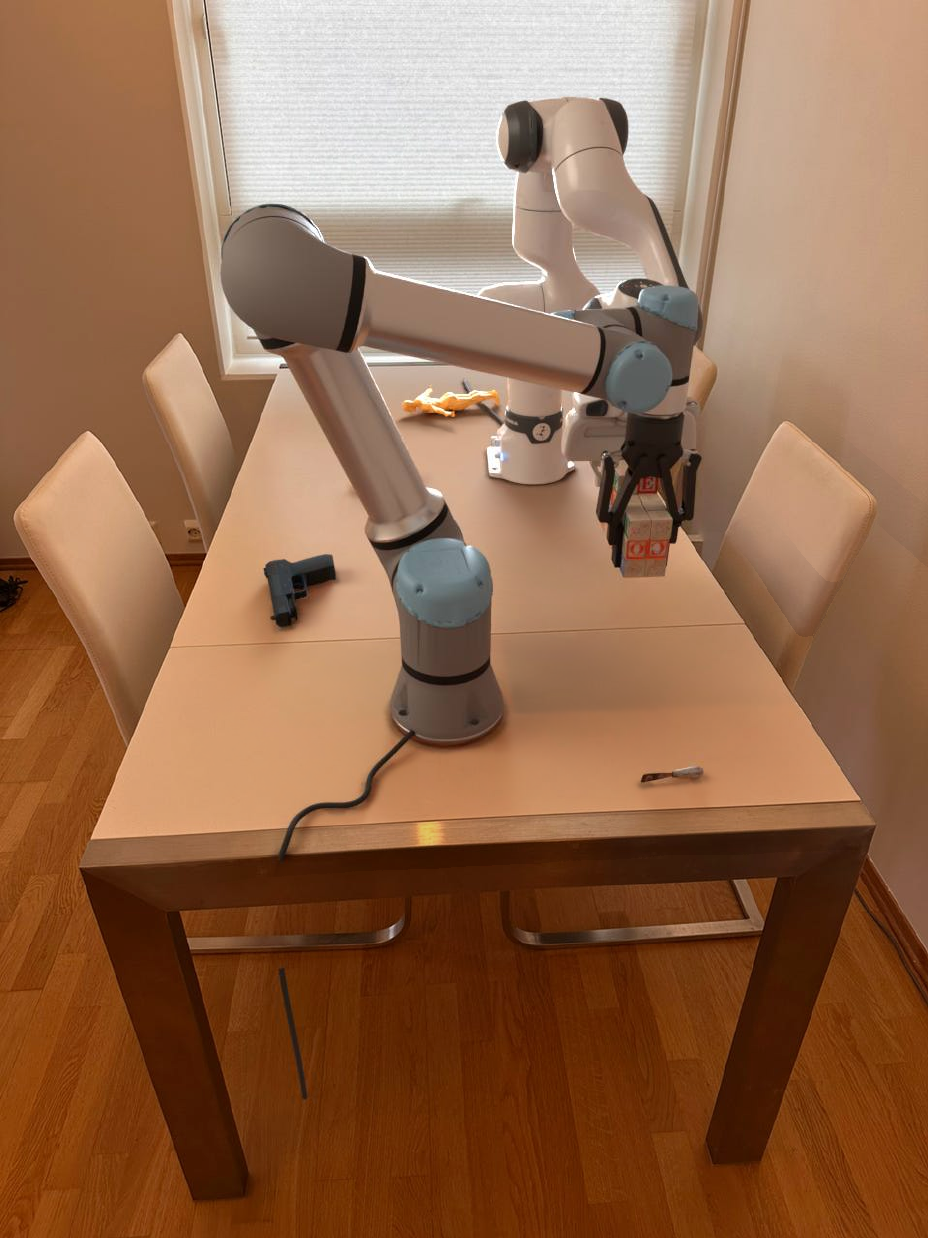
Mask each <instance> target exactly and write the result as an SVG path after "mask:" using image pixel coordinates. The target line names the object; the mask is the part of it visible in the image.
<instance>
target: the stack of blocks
mask: <svg viewBox="0 0 928 1238" xmlns="http://www.w3.org/2000/svg"><path fill="white" fill-rule="evenodd" d="M627 468H628V465H627V463H626V462H625V461H624V459H621V460H620V461H619V465H618V467H617V468H614V469H615V477H614V483H613V488H612V494H611V500H610V505H609V511H610V509H611V507H612V504H613V502H614V500H615V498H616V495H617V493H618V491H619V489H620V486H621V484H622V482H623V480H624V478H625V472H626V470H627ZM602 471H603V463H602V462H601V466H600V472H602ZM659 483H660V478H655V477H647V478H641V480H640V482H639V484H638V485H637V486H636V488H635V490H634V492H633V494H632V496H631V499H630V501H629V503H628V505H627V507H626V510H625V512H624V514H623V516H622V518H621V522H622V524H623V526H624V532H623V542H622V551H621V561H620V568H619V571H620V573H621V576H622V577H623V578H624V579H629V578H631V579H632V578H633V579H635V578H662V577H665V576H666V569H667V566H666V562H667V563H668V561H667V556H668V557H669V554H668V548H669V549H670V546H669V539H670V538H671V531H672V522H673V519H672V517H671V515H670V514H669V512H668V511H667V508H666V504H665V502H664V501H663V499H662V498H661V496H660V495H659V494H658V491H659ZM609 511H608V512H609ZM600 525H601V527H602V530H603V532H604V535H605V538H606V537H607V526H608V524H607V523H605V522H604V523H601V522H600ZM609 546H610V548H611V549H612V545H609Z"/></svg>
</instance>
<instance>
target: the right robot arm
mask: <svg viewBox="0 0 928 1238" xmlns="http://www.w3.org/2000/svg"><path fill="white" fill-rule="evenodd" d="M498 121H499V122H498V126H497V129H496V146H497V151H498V154H499V159H500V161H501V163H502V165H503V166H504V168H506V169H507V170H508V171H512V172H515V173H516V178H515V186H514V196H513V197H514V198H513V201H514V202H513V220H512V221H513V222H512V247H513V249H514V252H515V253H516V255H517V256H518V257H519V258H520V259H521V260H523V261H525V262H526V263H528V264H530V265H532V266H534V267H536V268H538V269H540V270H541V279H540V280H537V281H524V282H523V281H520V282H519V281H518V282H503V283H497V284H494V285H491V286H486V287H484V288H481V290H480V291H479V292H478V293H477V295H476V296H479V297H483V298H487V299H491V300H495V301H499V302H503V303H507V304H511V305H515V306H519V307H523V308H527V309H531V310H535V311H539V312H543V313H547V314H552V313H554V312H560V311H568V310H572V309H576V310H585V309H608V308H627V307H632V306H637V301H638V298H639V294H640V292H641V291H642V290H643V289H644V288H647V287H653V286H662V285H665V286H678V287H684V288H687V289H690V287H689V285H688V283H687V281H686V279H685V276H684V273H683V270H682V268H681V266H680V263H679V259H678V258H677V254H676V252H675V249H674V247H673V244H672V241H671V239H670V236H669V233H668V230H667V228H666V225H665V223H664V221H663V219H662V216H661V214H660V211H659V209H658V207H657V205H656V203H655V202H654V200H653V199H652V198H651V197H649V196H647V195H646V194H645V193H644V192H642V191H641V189H640V188H639V187H638V185H636V183H635V182H634V180H633V178H632V177H631V175H630V174H629V172H628V169H627V167H626V164H625V159H624V154H625V152H626V151H627V146H628V141H629V118H628V114H627V111H626V109H625V107H624V106H623V104H622V103H621V102H619V101H617V100H614V99H611V98H608V97H607V98H606V97H599V98H592V97H589V96H588V97H587V96H586V97H585V96H584V97H580V96H563V97H560V98H546V99H540V100H533V101H528V100H521V101H516V102H513V103H511V104H508V105H507V106H506V107H505V109H504V110H503V111H502V112H501V114H500V117H499V120H498ZM574 227H577V228H578V229H580V230H581V231H583V232H586V233H589V234H593V235H597V236H600V237H604V238H607V239H610V240H613V241H614V242H615V241H616V242H617V243H620V244H622V245H624V246H626V247H627V248H629V249H630V250H632V251H633V252H634V254H636V257H638V260H639V262H640V264H641V267H642V270H643V272H644V276H645V278H643V277H642V278H641V277H639V278H638V277H636V278H629V279H628V278H627V279H625V280H622V281H620V282H619V283H617V285H616V286H615V288H614V290H613V291H612V292H609V293H604V294H602V293H601V291H600V290H599V288H598V287H597V286H596V285H595V284H594V283H593V282H591V281H590V280H589V279H588V278H587V277H586V275H584V273H583V272H582V270H581V268H580V267H579V265H578V262H577V260H576V259H577V258H576V254H575V249H574ZM703 324H704V323H703V314H702V310H701V306H700V304H699V303H698V320H697V327H698V328H697V331H696V334H695V341H694V347H695V346H696V345H697V343H698V342H699V340H700V338H701V336H702V332H703ZM506 380H507V405H506V407H505V411H504V419H502V418H501V417H500V416H499V415H497V413H495V411H493V410H492V409H491V408H489V407H488V406H487V405H486V404H485V403H484V402H483V401H482V402H478V403H477V404H478V405H480V406H481V407H482V408H483V409H484V410H485V411H487V412H488V413H489V414H490V415H491V416H492V417H493V418H495V419H496V421H498V422H499V423H500V424H501V426H500V427H499V428H498V429H497V432H496V436H491V437H490V446H489V447H487V449H486V458H487V469H488V476H489V477H491V478H496V479H503V480H506V481H508V482H512V483H516V484H522V485H546V484H552V483H555V482H558V481H560V480H562V479H563V478H564V477H565V476H566V474H568V473H571V472H572V471H574V470H575V464H574V463H573V462H589V464H590V467H591V469H592V471H593V472H594V474H595V476H594V477H595V478H594V485H595V487H597V488H600V483H601V477H602V472H601V471H600V470H599V468H601V465H602V458H601V453H602V452H603V451H608V452H609V453H610V452H614V451H617V450H620V448H621V446H622V445H623V443H624V441H625V434H626V423H627V412H624V411H622V410H621V409H618V408H616V407H615V406H613V405H612V404H611V403H610V402H609V401H608V400H605V399H600V398H596V397H591V396H587V395H583V394H580V393H575V392H572V393H571V405H572V408H571V409H570V410H569V411H568V412H567V414H566V416H565V415H564V408H563V406H562V403H563V390H562V389H557V388H552V387H548V386H543V385H539V384H534V383H530V382H525V381H520V380H516V379H511V378H507V377H506ZM462 382H463V385H464V387H465V389H466V391H467V393H468V394H469V393H471V392H473V391H472V390H471V388H470V386H469V384H468V382H467V379H466V378H465V377H464V378H462ZM683 414H684V424H683V432H682V439H681V445H682V447H683V449H687V450H691V449H696V448H697V424H698V422H699V420H700V417H701V404H700V403H699V401H697V400H696V399H693V397H691V396H687V402H686V409H685V410H684V411H683ZM564 416H565V419H564ZM696 450H697V449H696ZM679 460H682V458H680V459H679Z"/></svg>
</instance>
